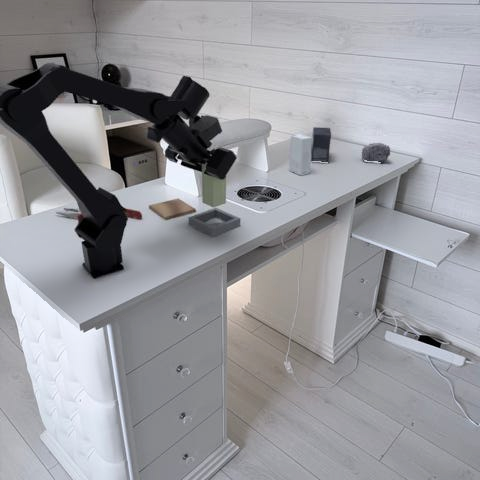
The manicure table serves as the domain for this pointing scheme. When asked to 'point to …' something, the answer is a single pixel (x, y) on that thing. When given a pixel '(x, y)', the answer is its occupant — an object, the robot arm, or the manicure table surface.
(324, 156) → the small box
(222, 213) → the gray square frame
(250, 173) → the manicure table surface
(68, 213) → the pliers
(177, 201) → the walnut pad
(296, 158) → the skincare box
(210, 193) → the olive block
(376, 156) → the pumice stone
